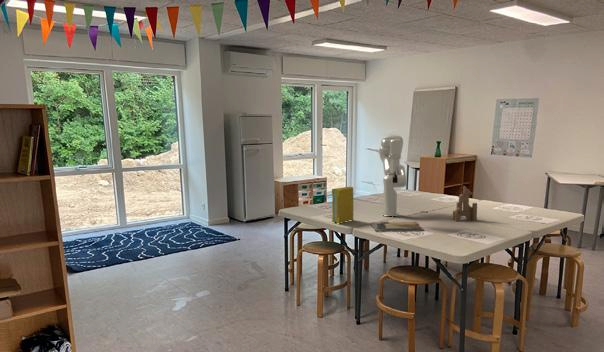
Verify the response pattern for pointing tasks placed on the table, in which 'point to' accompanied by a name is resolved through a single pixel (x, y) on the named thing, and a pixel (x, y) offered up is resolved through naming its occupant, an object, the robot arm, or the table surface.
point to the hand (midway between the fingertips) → (395, 182)
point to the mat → (394, 229)
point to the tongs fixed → (399, 226)
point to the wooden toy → (465, 207)
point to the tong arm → (393, 222)
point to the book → (342, 204)
